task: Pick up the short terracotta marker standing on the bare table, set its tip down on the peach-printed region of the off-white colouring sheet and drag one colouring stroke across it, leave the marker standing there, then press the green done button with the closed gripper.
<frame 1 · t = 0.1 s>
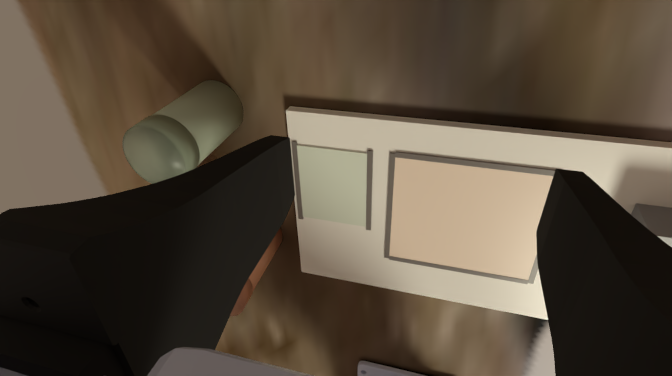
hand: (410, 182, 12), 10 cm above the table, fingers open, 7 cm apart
colouring sheet: (501, 226, 24), on the table
sage marker: (217, 107, 25), on the table
terracotta marker: (261, 231, 29), on the table
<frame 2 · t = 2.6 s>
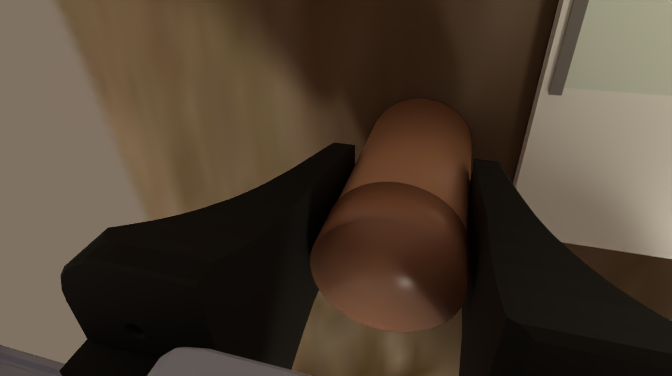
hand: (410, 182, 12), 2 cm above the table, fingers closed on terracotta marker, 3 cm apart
terracotta marker: (419, 145, 14), on the table, touching gripper
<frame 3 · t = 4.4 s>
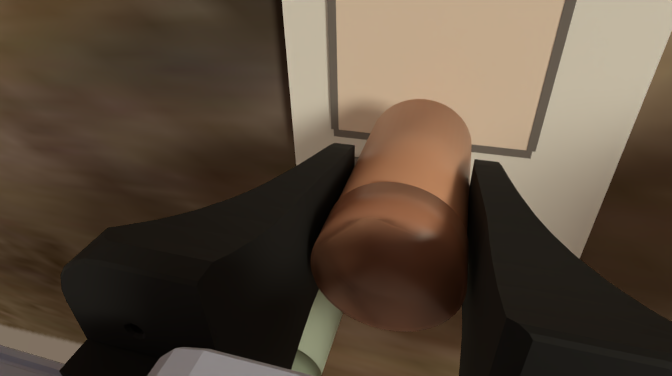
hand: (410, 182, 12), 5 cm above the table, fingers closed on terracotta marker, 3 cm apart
sage marker: (319, 291, 24), on the table
terracotta marker: (419, 146, 14), point 3 cm above the table, touching gripper
when the fingers open (3 cm above the table, at t = 6.3 s): terracotta marker stays where it is, resting on colouring sheet.
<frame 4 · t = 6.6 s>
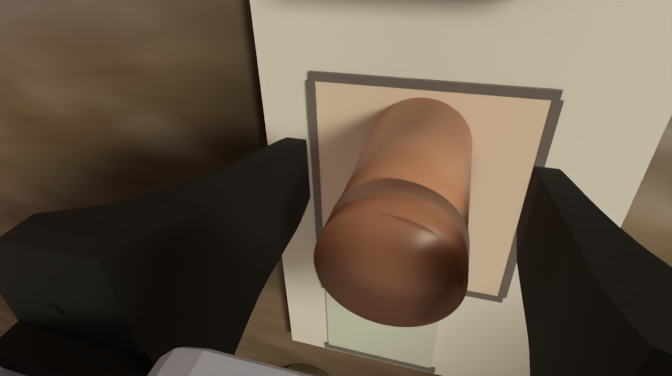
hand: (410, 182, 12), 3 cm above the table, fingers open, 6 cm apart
colouring sheet: (437, 140, 14), on the table
terracotta marker: (420, 144, 14), point 1 cm above the table, touching colouring sheet
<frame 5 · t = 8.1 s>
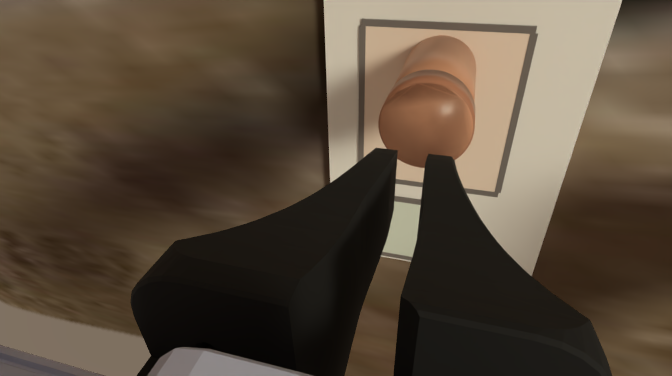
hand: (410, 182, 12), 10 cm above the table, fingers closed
colouring sheet: (451, 70, 20), on the table
terracotta marker: (439, 71, 20), point 1 cm above the table, touching colouring sheet
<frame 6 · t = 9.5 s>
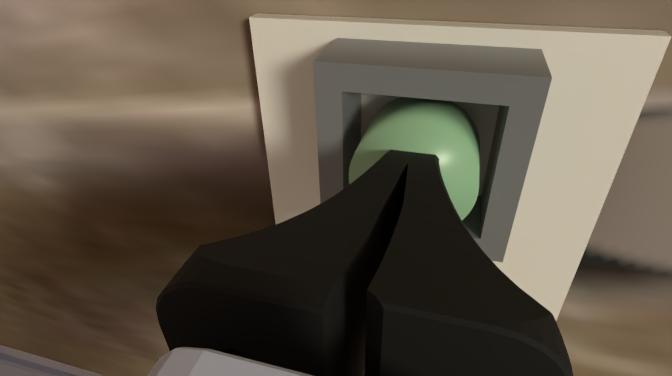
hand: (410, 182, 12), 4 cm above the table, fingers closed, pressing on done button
colouring sheet: (408, 293, 20), on the table
button housing: (424, 133, 14), resting on colouring sheet
done button: (416, 164, 13), point 3 cm above the table, slide at -0.2 cm, touching gripper
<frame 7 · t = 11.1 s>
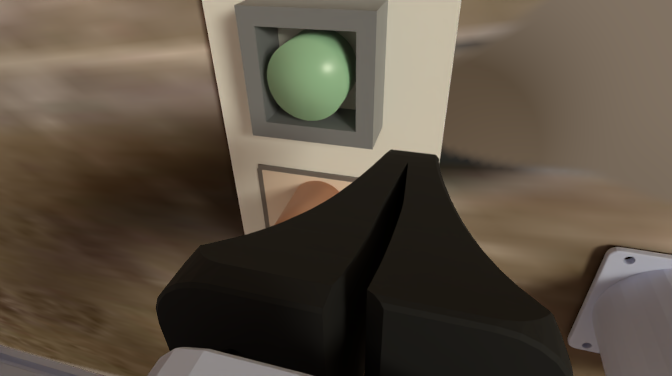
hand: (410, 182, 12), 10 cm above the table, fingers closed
colouring sheet: (331, 200, 26), on the table
button housing: (323, 63, 21), resting on colouring sheet
terracotta marker: (320, 203, 25), point 1 cm above the table, touching colouring sheet
done button: (313, 74, 19), point 2 cm above the table, slide at -0.8 cm
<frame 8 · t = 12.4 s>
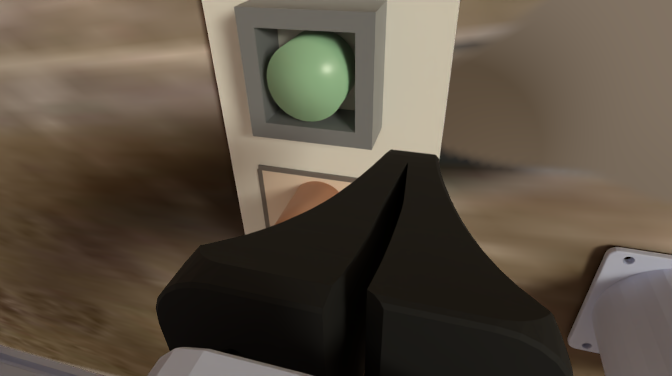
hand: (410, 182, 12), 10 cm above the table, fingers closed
colouring sheet: (331, 200, 26), on the table
button housing: (322, 64, 21), resting on colouring sheet
terracotta marker: (320, 203, 25), point 1 cm above the table, touching colouring sheet
done button: (313, 75, 19), point 2 cm above the table, slide at -0.8 cm
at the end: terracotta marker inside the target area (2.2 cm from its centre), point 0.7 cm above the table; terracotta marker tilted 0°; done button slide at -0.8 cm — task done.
